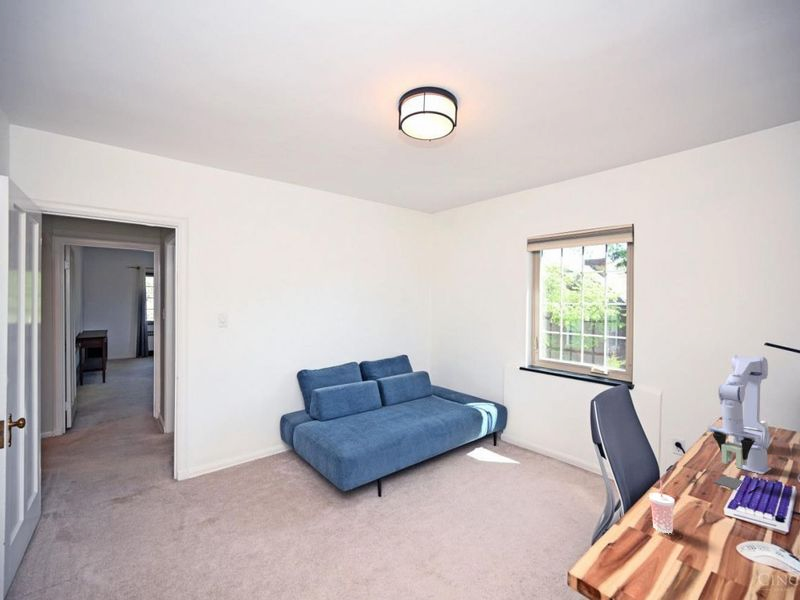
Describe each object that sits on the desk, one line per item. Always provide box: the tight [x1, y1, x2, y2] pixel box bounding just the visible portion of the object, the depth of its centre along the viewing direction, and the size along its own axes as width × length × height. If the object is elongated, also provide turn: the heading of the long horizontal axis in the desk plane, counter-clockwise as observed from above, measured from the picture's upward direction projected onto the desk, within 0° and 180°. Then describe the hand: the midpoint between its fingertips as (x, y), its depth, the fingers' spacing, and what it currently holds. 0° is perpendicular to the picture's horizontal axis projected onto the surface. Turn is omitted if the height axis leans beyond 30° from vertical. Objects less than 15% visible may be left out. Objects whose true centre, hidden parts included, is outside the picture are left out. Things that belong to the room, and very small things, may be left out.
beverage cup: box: [648, 479, 676, 535], centre depth 110 cm, size 6×6×14 cm
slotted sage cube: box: [721, 441, 747, 469], centre depth 137 cm, size 6×6×6 cm
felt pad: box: [712, 475, 745, 491], centre depth 136 cm, size 10×10×1 cm
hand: (734, 456), depth 136 cm, fingers closed on slotted sage cube, 5 cm apart
